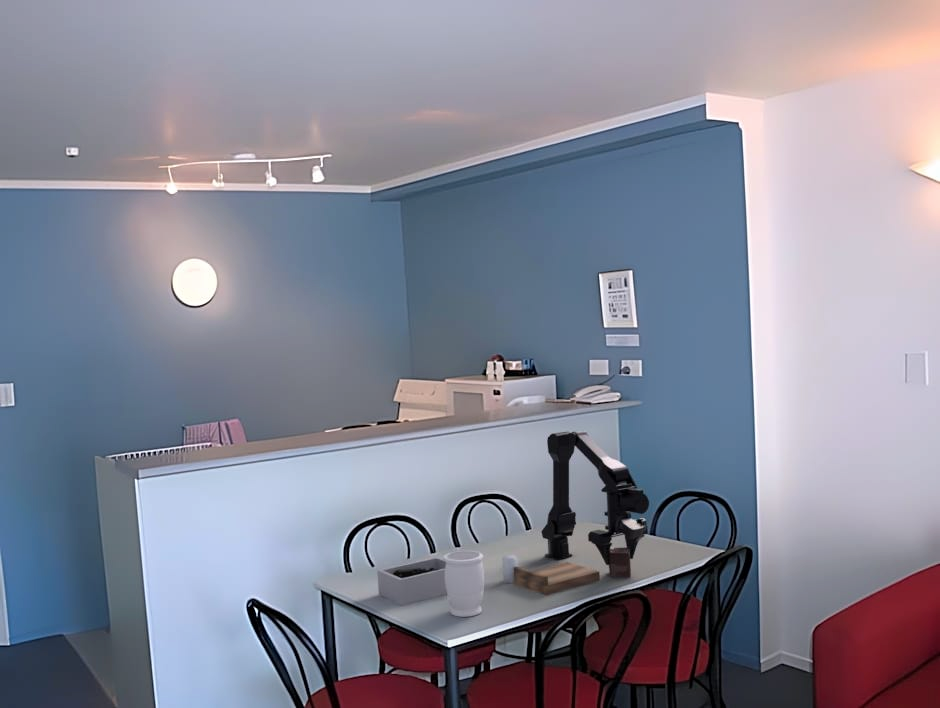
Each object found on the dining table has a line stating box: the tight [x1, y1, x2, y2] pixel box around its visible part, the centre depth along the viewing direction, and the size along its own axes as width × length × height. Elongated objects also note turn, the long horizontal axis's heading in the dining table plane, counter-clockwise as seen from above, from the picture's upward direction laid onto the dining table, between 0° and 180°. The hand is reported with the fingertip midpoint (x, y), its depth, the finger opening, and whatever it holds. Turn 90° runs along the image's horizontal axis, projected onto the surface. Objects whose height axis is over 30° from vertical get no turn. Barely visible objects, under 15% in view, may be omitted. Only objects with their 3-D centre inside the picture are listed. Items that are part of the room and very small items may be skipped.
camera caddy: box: [376, 556, 447, 607], centre depth 254 cm, size 13×20×7 cm, turn 124°
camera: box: [393, 568, 440, 578], centre depth 254 cm, size 14×7×8 cm, turn 83°
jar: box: [443, 550, 485, 618], centre depth 234 cm, size 11×10×15 cm
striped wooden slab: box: [513, 561, 601, 596], centre depth 257 cm, size 14×20×5 cm
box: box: [608, 547, 632, 578], centre depth 261 cm, size 6×6×7 cm
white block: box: [501, 554, 519, 584], centre depth 260 cm, size 4×4×7 cm
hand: (619, 561), depth 261 cm, fingers open, 9 cm apart
